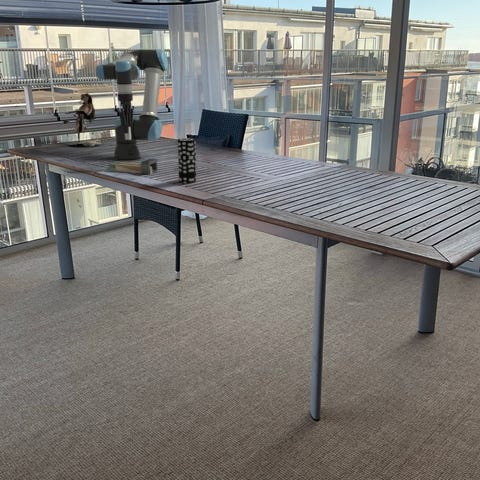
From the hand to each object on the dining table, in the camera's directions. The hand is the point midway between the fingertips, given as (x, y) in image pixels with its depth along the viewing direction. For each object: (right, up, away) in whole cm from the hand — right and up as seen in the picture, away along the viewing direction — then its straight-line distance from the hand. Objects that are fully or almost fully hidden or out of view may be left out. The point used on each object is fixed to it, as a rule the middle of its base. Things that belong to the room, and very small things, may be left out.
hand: (128, 139), depth 272 cm
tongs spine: (+2, -17, -3) cm, 18 cm away
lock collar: (+12, -18, -5) cm, 22 cm away
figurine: (-47, +12, +81) cm, 94 cm away
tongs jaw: (+1, -16, 0) cm, 16 cm away
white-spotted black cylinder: (+34, -25, -24) cm, 48 cm away
